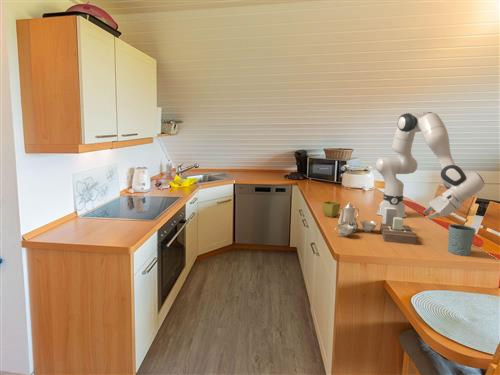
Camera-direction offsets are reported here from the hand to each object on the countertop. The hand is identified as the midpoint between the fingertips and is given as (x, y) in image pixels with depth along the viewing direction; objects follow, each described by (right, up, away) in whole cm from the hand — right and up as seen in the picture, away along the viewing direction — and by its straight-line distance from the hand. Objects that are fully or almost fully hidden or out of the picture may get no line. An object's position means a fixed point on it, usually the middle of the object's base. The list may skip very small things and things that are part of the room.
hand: (426, 215), depth 160 cm
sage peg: (-13, -11, +4) cm, 18 cm away
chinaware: (-35, -10, +11) cm, 38 cm away
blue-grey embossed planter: (+5, -15, -16) cm, 23 cm away
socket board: (-13, -11, +4) cm, 18 cm away
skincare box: (-11, -9, +19) cm, 24 cm away
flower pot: (-38, -4, +44) cm, 58 cm away
